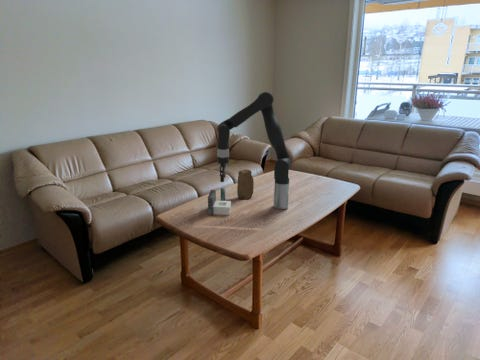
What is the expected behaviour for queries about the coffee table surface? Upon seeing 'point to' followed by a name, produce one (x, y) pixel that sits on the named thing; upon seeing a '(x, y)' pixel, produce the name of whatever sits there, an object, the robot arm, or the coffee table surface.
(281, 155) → the robot arm
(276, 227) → the coffee table surface
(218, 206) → the socket
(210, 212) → the jig
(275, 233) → the coffee table surface
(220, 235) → the coffee table surface
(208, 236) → the coffee table surface
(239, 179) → the brown rounded block
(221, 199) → the dowel
